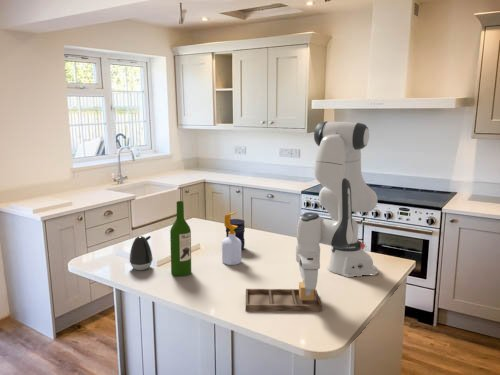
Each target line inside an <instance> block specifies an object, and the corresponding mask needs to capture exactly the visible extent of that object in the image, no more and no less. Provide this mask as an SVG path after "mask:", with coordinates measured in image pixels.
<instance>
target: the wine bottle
mask: <svg viewBox="0 0 500 375" xmlns="http://www.w3.org/2000/svg"><path fill="white" fill-rule="evenodd" d="M184 204H185V203H184V201H183V200H182V201H181V200H179V201H176V219H175V221H174V223H172V226H171V227H170V231H169V232H170V237H169V240H170V273H171V275H172V276H173V277H186V276H189V275H190V274H191V275H192V236H191V233H192V231H191V228H190V226H189V224H188V222H187V221H186V219H185V215H184V213H185V211H184Z"/></svg>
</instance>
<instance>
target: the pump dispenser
mask: <svg viewBox="0 0 500 375" xmlns="http://www.w3.org/2000/svg"><path fill="white" fill-rule="evenodd" d="M151 238H152V237H151V235H148V236H147V237H145V236H143V235H141V236H137V237H135V239H134V240H133V242H132V244H131V247H130V252H129V263H130V266H131V267H132V268H133V269H134V270H137V271H145V270H148V269H149V268H150V267H151V265H152V263H153V260H154V259H153V258H154V257H153V253H152V249H151V245H150V243H149V240H150V239H151Z"/></svg>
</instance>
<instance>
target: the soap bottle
mask: <svg viewBox="0 0 500 375" xmlns="http://www.w3.org/2000/svg"><path fill="white" fill-rule="evenodd" d="M235 214H237V211H235V212H230V213H228V214H225V216H224V227H225V229H226V228H229V229H230V232H228V237H227V238H226V237H225V238H224V239H223V240H222V242H221V244H222V246H221V247H222V249H221V251H222V252H221V253H222V255H221V261H222V263H223V264H225V265H228V266H237V265H239V264H241V263H242V251H241V240H240V239H238V238H237V237H236V236H235V232H234V229H235V228H237V227H238V226H235V225H231V224H230V219H231V216H232V215H235Z"/></svg>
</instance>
